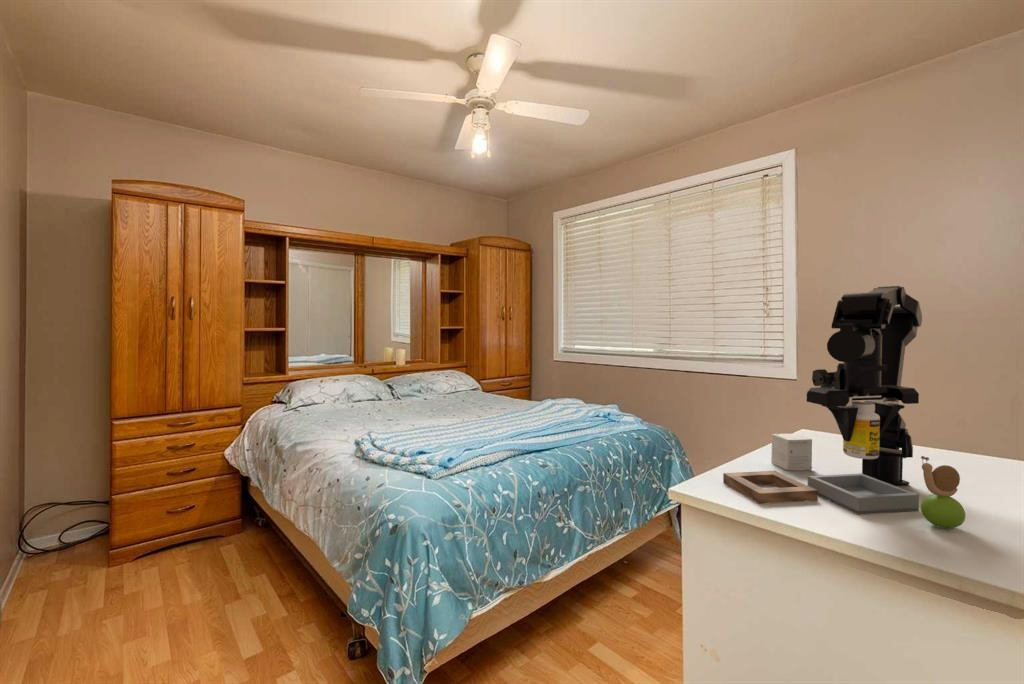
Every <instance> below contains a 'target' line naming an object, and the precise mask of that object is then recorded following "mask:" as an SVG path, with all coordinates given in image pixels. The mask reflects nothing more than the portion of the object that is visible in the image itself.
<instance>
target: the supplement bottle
mask: <svg viewBox="0 0 1024 684" xmlns="http://www.w3.org/2000/svg"><path fill="white" fill-rule="evenodd" d="M852 407H857V408H858V412H857V416H856V420H855V425H854V429H853V434H852V437H851V440H850V441H845V440H843V439H842V444H843V445H842V451H843V453H844V455H846V456H848V457H850V458H854V459H861V460H862V459H876V458H878V457H879V442H880V416H879V415H878V414H876V413H874V412H875V404H874V403H870V402H865V401H861V400H856V401H852Z"/></svg>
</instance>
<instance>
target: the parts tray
mask: <svg viewBox="0 0 1024 684" xmlns="http://www.w3.org/2000/svg"><path fill="white" fill-rule="evenodd" d="M807 485H808V486H810V487H812V488H814V489H816V490H818V497H820V498H822V499H824V500H827V501H828V502H830V503H832V504H835V505H836V506H839V507H841V508H843V509H845V510H847V511H849V512H852V513H854V514H856V515H857V516H858V515H859V516H861V515H863V516H864V515H876V514H891V513H892V514H893V513H894V514H895V513H909V512H919V506H920V505H919V502H920V501H919V500H920V494H918V493H915V492H913V491H910V490H907V489H905V488H902V487H900V486H898V485H891V484H889V483H886V482H883V481H881V480H878V479H875V478H872V477H870V476H867V475H864V474H862V472H860V473H842V474H840V473H839V474H827V475H826V474H825V475H808V476H807Z"/></svg>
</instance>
